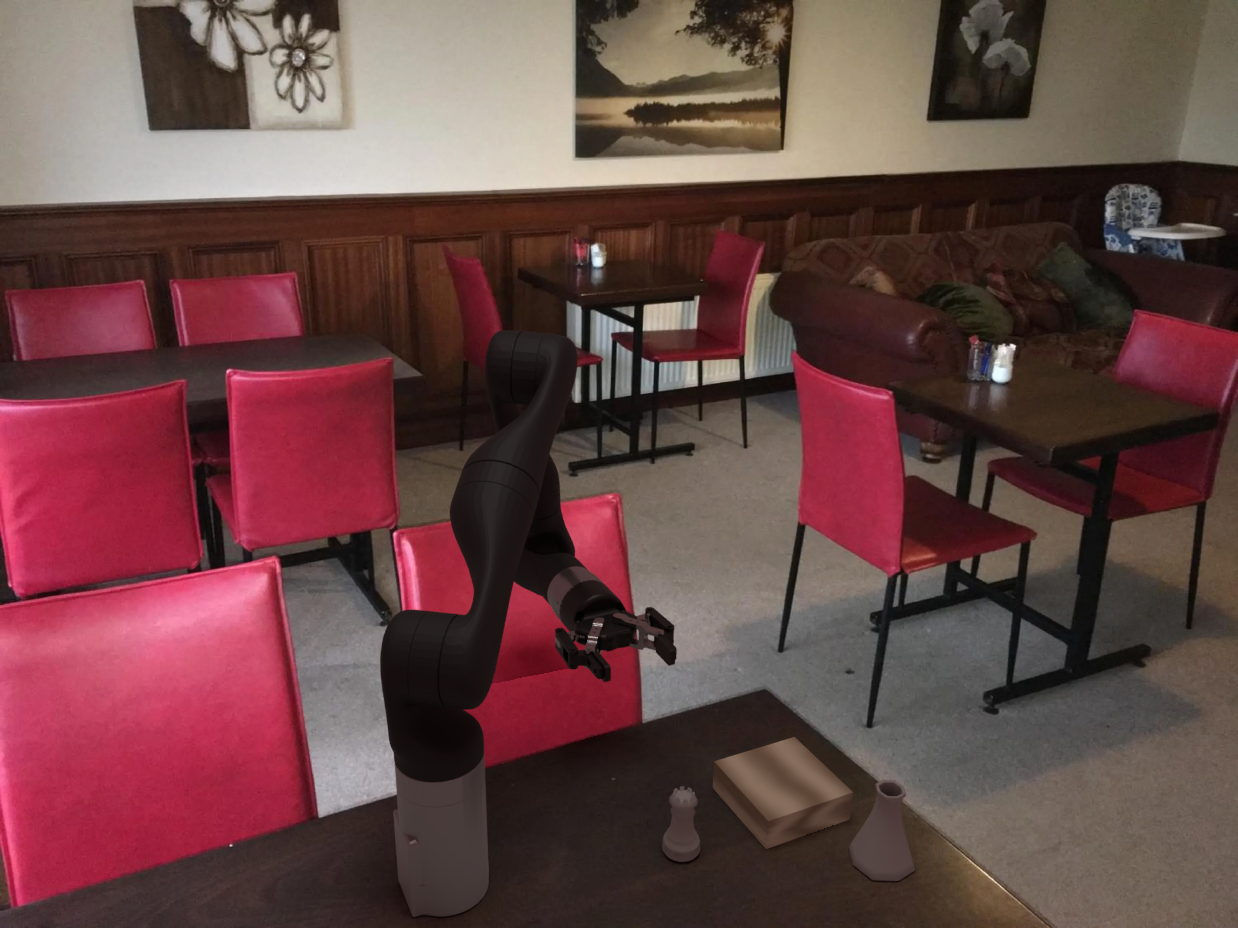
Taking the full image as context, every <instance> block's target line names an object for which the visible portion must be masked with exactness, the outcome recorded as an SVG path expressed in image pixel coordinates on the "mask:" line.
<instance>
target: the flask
mask: <svg viewBox="0 0 1238 928" xmlns="http://www.w3.org/2000/svg"><path fill="white" fill-rule="evenodd" d="M874 787H875V790H876V799H875V802H874V804H873V807H872V810H871V812H870V813H869V815H868V817H867V819H866V820H865V822H864V823H863V825H862V826H861V828H860V829H859V831H858V833H857V834H856V835H855V836H854V838H853V839H852V841H851V842H850V844H849V845H848V851H849V854H850V855H849V856H850V858H851V863H852V866H854V867H855V868H856V869H858V870H859V871H860V872H862V873H863V874H864V875H865V876H867V877H868V878H869V879H870V880H872V881H888V882H889V881H890V882H891V881H892V882H893V881H894V882H896V881H897V882H898V881H901V880H902V879H904V878H906V877H907V876H908V875H910V874H911V873H913V872H915V871H916V868H915V864H914V859H913V857H912V854H911V850H910V847H909V842H908V839H907V835H906V830H905V827H904V823H903V813H902V806H903V805H902V804H903V799H904V798H906V796H907V793H906V790H905V787H904V785H902V784H901V783H899V782H898V781H896V780H895V779H882V780H881V781H878V782H876V783H875V785H874Z"/></svg>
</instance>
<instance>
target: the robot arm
mask: <svg viewBox="0 0 1238 928" xmlns="http://www.w3.org/2000/svg"><path fill="white" fill-rule="evenodd" d="M578 359H579V358H578V351H577V347H576V345H575V343H574V342H573V341H572V339H570V338H569V337H567V336H564V335H561V334H557V333H551V332H550V333H549V332H536V331H526V330H525V331H523V330H517V329H515V330H514V329H512V330H510V329H506V330H498V331H496V332H495V333H494V334H493V335H492V337H491V338H490V340H489V343H488V344H487V348H486V352H485V358H484V379H485V380H484V381H485V387H486V393H487V398H488V402H489V406H490V410H491V413H492V418H493V422H494V426H495V429H496V433H494V434H493V435H492V436H490V437H489V438H488V439H487V440H485V441H484V442H483V443H481V445H480V446H479V447H477V448H476V449H475V450H474V451H473V452H472V453H471V454H470V455H469V457H468V458H467V460H466V462H465V464H464V465H463V467H462V470H461V473H460V475H459V478H458V481H457V485H456V488H455V489H454V490H455V491H454V493H453V495H452V498H451V502H450V505H449V520H450V525H451V529H452V533H453V535H454V539H455V540H456V543H457V545H458V548H459V550H460V552H461V554H462V556H463V559H464V561H465V564H466V566H467V569H468V572H469V576H470V579H471V583H472V587H473V589H472V590H473V597H472V602H471V606H470V608H469V610H468V611H467V612H466V614H463V613H462V614H459V613H451V612H442V611H441V612H440V611H431V610H424V609H423V610H421V609H403V610H401V611H399V612H397V613H396V614H395V615H394V616H393V617H392V618H390V620H389V622H388V623H387V625H386V627H385V631H384V633H383V636H382V641H381V647H380V658H379V661H380V662H379V666H380V668H379V669H380V670H379V672H380V681H381V682H380V684H381V691H382V698H383V703H384V709H385V718H386V725H387V727H386V728H387V732H388V733H387V734H388V741H389V746H390V747H391V750H392V752H393V760H394V771H395V772H394V773H395V774H394V775H395V789H396V802H397V803H396V804H397V809H394V810H393V813H392V815H393V826H394V827H393V828H394V838H395V839H394V840H395V842H394V843H395V853H396V867H397V869H396V870H397V877H398V878H397V879H398V883H399V886H400V889H401V891H402V893H403V896H404V899H405V901H406V904H407V906H408V909H409V911H410V914H411V917H414V918H417V917H419V916H423V915H424V916H431V917H432V916H433V917H450V916H455V915H458V914H462V913H464V912H466V911H468V910H470V909H472V908H473V907H474V906H475V905H478V904H479V903H480V902H481V900H482V899H483V898H484V897H485V895H486V894H487V892H488V889H489V884H490V882H489V881H490V879H489V874H490V873H489V872H490V865H489V850H488V849H489V848H488V847H489V845H488V822H487V821H488V819H487V818H488V817H487V813H488V812H487V786H486V759H485V758H486V757H485V755H486V754H485V738H484V731H483V727H482V725H481V724H480V722H479V721H478V719H477V718H476V717H475V716H473V715H472V713H470V712H468V710H474V709H476V708H478V707H480V706H481V705H482V704H483V703H484V701H485V700H486V699H487V696H488V694H489V692H490V689H491V686H492V683H493V682H494V681H493V680H494V676H495V674H496V670H497V665H498V662H499V661H498V659H499V656H500V651H501V648H502V647H501V646H502V642H503V641H502V640H503V636H504V631H505V627H506V622H507V621H506V620H507V617H508V616H507V615H508V612H509V611H508V610H509V605H510V602H511V601H510V600H511V597H512V592H513V588H514V583H515V584H516V585H517V586H519V587H521V588H523V589H525V590H527V591H528V592H529V591H530V592H532V593H534V594H536V595H537V596H540V597H542V598H543V599H544V601H546V603H547V604H548V605H549V607H550V608H551V609H552V611H553V613H554V615H555V616H556V618H557V619H559V621H560V622H561V624H563V625H564V627H565V628H564V627H557V628H555V629H554V648H555V649H556V651H557V653H558V654H559V655H560V657H561V658H562V660H563V662H564V663H565V665H566V666H567V667H568V669H570V670H577V669H579V666H580V667H582V666H583V667H584V668H585V669H586V670H587V669H588V670H589V671H590V673H592V674H593V676H594V677H595V678H596V679H598V680H601V681H602V682H603V683H608V682H611V681H612V680H611V678H612V668H611V664H610V663H609V662H608V661H607V660H606V659H605V658H604V656H602V654H601V653H602V652H603V651H606V652H612V651H615V650H617V649H623V648H628V647H629V648H632V649H635V650H641V651H643V650H644V649H649V650H653V651H655V653H656V655H658V656H659V657H660V659H662V661H664V663H665V664H666V665H667V666H669V667H670V666H673V665H675V664H676V661H677V654H678V653H677V652H678V650H677V646H676V645H674V644H675V625H674V624H673V623H672V622H671V621H670V620H668V619H667V617H665V616H664V615H663V614H661V612H659V611H658V610H657V609H656V608H654V607H653V606H647V607H645V609H644V613H642V614H638V615H635V614H634V613H631V612H629V611H628V610H627V609H626V608H625V605H624V604H623V602H622V600H621V599H620V598H619V597H618V595H616V594H615V593H614V592H613V591H612V590H611V588H609V587H608V586H607V585H606V584H605V583H604V582H603V580H601V579H600V578H599V576H597V575H596V574H594V573H593V572H591V571H590V570H589V569H588V568H587V567H586V565H584V564H583V563H582V562H581V561H580V560H579V559H578V558H577V557H576V547H575V544H574V542H573V539H572V537H571V534H570V532H569V530H568V528H567V526H566V523H565V520H564V515H563V512H562V511H563V510H562V507H561V485H560V484H561V483H560V476H559V471H558V468H557V465H556V463H555V462H554V459H553V458H552V456H551V450H552V446H553V443H554V441H555V437H556V436H557V432H558V430H559V427H560V424H561V422H562V419H563V416H564V414H565V412H566V408H567V406H568V404H569V401H570V397H571V395H572V393H573V389H574V386H575V381H576V378H577V372H578V364H579V363H578ZM520 405H524V406H527V407H526V408H525V409H524V410H523V411H522V410H521V406H520ZM566 629H567V630H568V631H567V630H566ZM637 631H638V639H635V637H636V634H637ZM649 636H652V637H653V640H651V639H649ZM575 642H576V643H577V644H579V645H582V646H584V648H583V649H579V648H578V646H577V644H576V643H575ZM466 710H467V711H466Z"/></svg>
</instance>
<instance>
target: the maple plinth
mask: <svg viewBox="0 0 1238 928" xmlns="http://www.w3.org/2000/svg"><path fill="white" fill-rule="evenodd" d="M712 777H713V778H712V789H713V790H714V791H715V792H716V794H717V795H719V798H721V800H722V801H723V802H724V803H725V805H727V806H728V807H729V808H730V810H731V811H732V812H733V813H734V815H736V817H737V818H738V819H739V820H740V821H741V822H742V824H744V826H745V827H746V828H747V829H748V830H749V831H750V833H751V834H752V835H753V836H754V837H755V838H756V839H757V841H758V842H759V843H760V844H761V845H762V847H764V849H765V850H768V849H771V848H773V847H777V846H780V845H782V844H785V843H788V842H790V841H794V840H796V839H799V838H802V837H806V836H807V834H808V835H810V833H811V834H814V833H815V832H818V830H819V831H822V830H824V828H825V829H827V827H828V828H830V827H832V825H833V826H836V825H838V824H842V823H844V822H845V823H846V822H848V821H849V820H850V819H851V813H852V812H851V811H852V806H853V796H854V792H853V790H851V789H850V788H849V787H848V786H847V785H846V784H845V783H844V782H843V781H842V780H841V779H840V778H838V777H837V775H835V773H834V772H832V771H831V770H830V769H829V767H827V766H826V765H825V764H824V763H823V762H821V760H819V758H818V757H816V756H815V754H813V753H812V752H811V751H810V750H809V749H808V748H807V747H806V746H805V745H803V743H802V742H800V740H798V738H797V737H795V736H793V737H790V738H786V739H783V740H780V741H776V742H774V743H770V744H767V745H763V746H760V747H756V748H753V749H750V750H747V751H743V752H740V753H737V754H734V755H730V756H727V757H724V758H721V759H717V760H714V761H713V776H712Z"/></svg>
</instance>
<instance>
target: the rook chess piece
mask: <svg viewBox="0 0 1238 928" xmlns="http://www.w3.org/2000/svg"><path fill="white" fill-rule="evenodd" d="M668 800H669V801H668V802H669V804H670V805H671V807H670V810H669V811H670V814H671V820H670V824H669V825H670V826H669V827H668V828H667V830H666V831H665V832H664V834H663V838H662V844H661V848H662V852H663V853H664V854H665V856H666V857H668V858H669V860H672V861H674V862H678V863H687V862H690V861H693V860H694V859H695V858H696V857H697V856H698V855H699V854H700V851H701V845H700V844H701V840H700V836H699V834H698V833H697V830H696V828H695V822H694V816H695V815H696V810H695V807H697V806H698V803H699V800H698V797H697V796H696V793H695V791H693V788H691V787H688V788H687V789H685V786H684V785H682V786H679V788H677V787H675V788H674V789H673V792H672V793H671V794H670V795H669V797H668Z"/></svg>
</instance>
